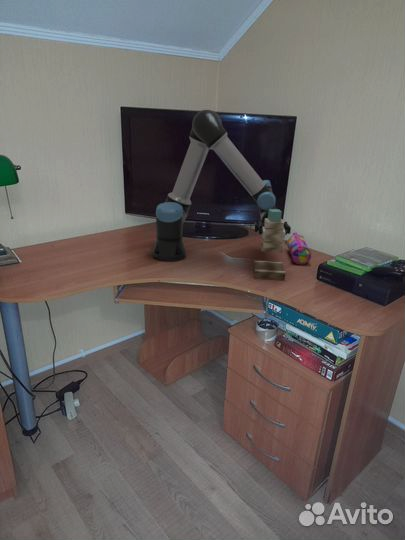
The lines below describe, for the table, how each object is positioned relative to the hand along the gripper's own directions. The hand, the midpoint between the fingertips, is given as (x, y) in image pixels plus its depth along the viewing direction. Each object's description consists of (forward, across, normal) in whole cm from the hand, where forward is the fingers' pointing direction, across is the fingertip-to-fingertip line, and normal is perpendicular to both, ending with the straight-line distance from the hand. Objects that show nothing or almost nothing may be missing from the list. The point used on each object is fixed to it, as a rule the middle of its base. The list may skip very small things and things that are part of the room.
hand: (274, 235), depth 149 cm
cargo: (-5, 0, +5) cm, 7 cm away
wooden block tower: (-5, 0, -8) cm, 9 cm away
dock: (-5, 0, -18) cm, 19 cm away
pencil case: (-28, -15, -19) cm, 37 cm away
